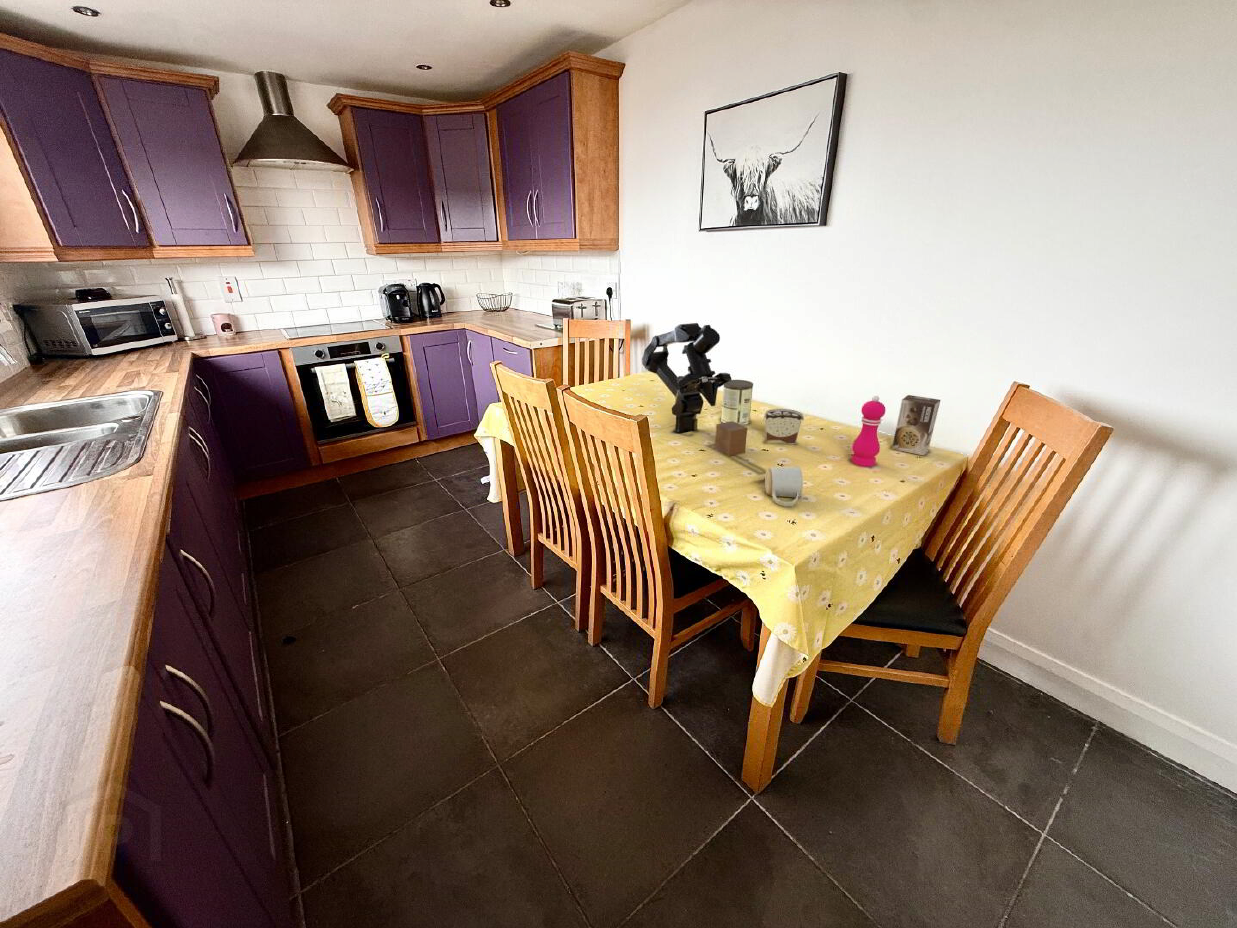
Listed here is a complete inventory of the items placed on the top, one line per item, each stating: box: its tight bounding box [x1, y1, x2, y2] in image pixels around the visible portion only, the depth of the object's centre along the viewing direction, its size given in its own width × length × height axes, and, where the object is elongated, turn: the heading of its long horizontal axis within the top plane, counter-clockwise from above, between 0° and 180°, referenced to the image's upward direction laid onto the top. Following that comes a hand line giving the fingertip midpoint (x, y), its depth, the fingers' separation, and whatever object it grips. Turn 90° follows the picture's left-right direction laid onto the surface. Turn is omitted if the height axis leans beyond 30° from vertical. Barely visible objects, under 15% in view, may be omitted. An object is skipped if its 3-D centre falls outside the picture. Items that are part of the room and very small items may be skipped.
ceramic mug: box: [764, 466, 804, 508], centre depth 124 cm, size 11×8×8 cm
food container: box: [763, 408, 805, 445], centre depth 161 cm, size 12×6×10 cm, turn 84°
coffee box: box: [891, 394, 941, 456], centre depth 151 cm, size 9×6×16 cm
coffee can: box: [720, 379, 754, 426], centre depth 179 cm, size 10×10×14 cm
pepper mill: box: [851, 395, 886, 467], centre depth 142 cm, size 7×7×20 cm
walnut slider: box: [714, 421, 748, 457], centre depth 150 cm, size 7×6×8 cm
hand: (713, 405), depth 155 cm, fingers closed
